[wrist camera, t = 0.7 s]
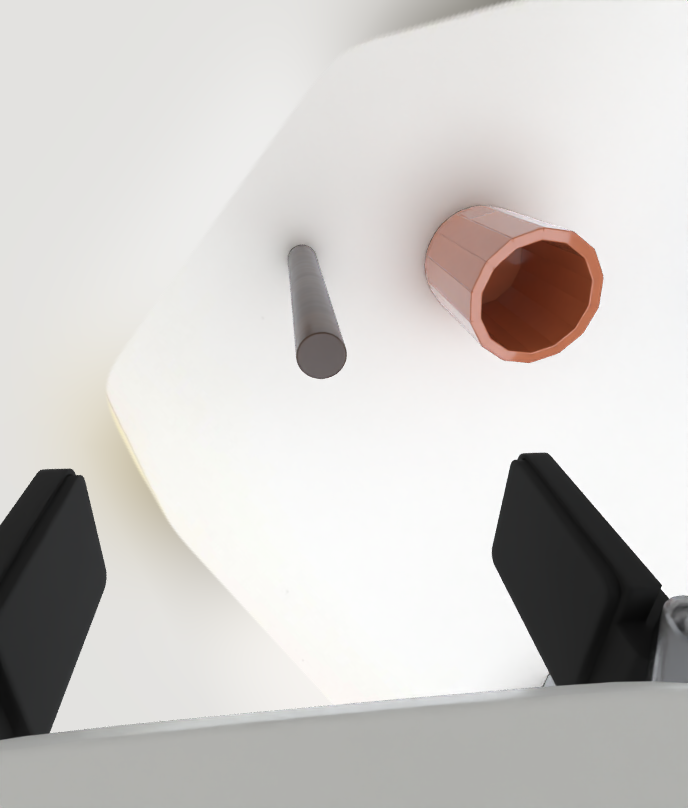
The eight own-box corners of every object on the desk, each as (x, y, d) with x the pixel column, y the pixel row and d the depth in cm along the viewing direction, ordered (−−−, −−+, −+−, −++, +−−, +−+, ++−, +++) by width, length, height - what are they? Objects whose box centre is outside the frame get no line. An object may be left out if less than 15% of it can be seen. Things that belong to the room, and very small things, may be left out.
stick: (281, 259, 32) (285, 357, 18) (302, 238, 32) (322, 321, 18) (302, 279, 33) (321, 388, 19) (322, 259, 32) (357, 355, 18)
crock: (402, 260, 33) (442, 300, 25) (488, 179, 31) (559, 195, 23) (464, 331, 36) (517, 387, 28) (546, 260, 34) (627, 298, 26)
